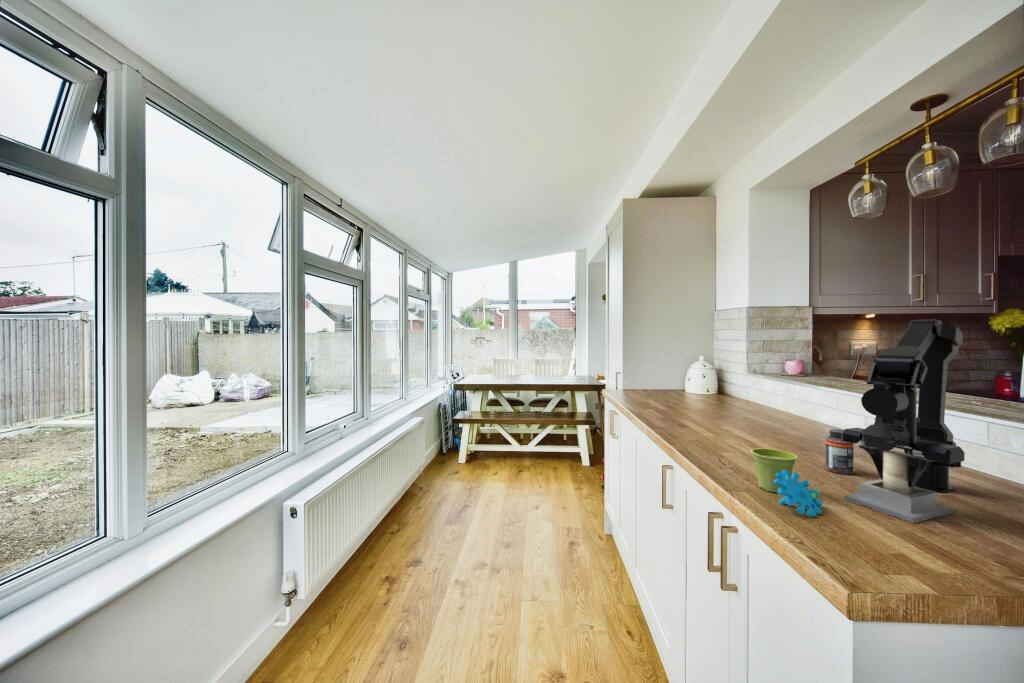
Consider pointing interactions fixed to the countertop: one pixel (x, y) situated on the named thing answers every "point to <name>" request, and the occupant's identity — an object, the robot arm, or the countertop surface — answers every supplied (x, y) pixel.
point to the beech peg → (896, 472)
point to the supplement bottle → (838, 453)
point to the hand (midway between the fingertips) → (896, 483)
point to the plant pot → (771, 466)
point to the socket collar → (898, 497)
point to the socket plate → (912, 517)
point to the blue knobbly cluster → (798, 493)
